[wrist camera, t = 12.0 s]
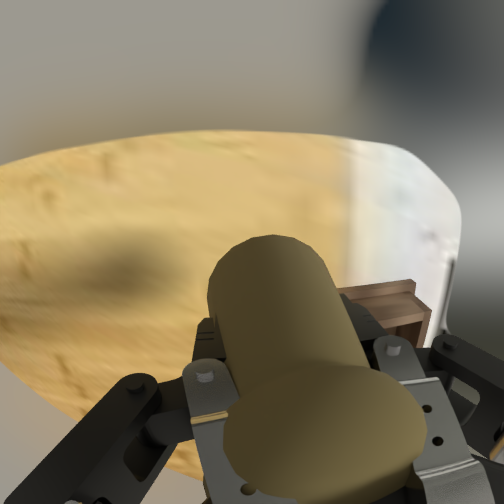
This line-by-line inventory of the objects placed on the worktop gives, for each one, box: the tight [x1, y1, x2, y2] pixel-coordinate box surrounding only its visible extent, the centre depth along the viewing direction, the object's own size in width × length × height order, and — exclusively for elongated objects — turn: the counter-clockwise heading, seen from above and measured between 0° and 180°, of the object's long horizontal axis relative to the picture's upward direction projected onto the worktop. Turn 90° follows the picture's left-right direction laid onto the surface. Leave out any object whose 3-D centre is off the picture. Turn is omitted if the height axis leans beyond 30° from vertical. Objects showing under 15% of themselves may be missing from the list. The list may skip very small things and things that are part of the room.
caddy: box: [337, 279, 432, 348], centre depth 26 cm, size 12×24×5 cm, turn 4°
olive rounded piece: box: [203, 235, 427, 504], centre depth 9 cm, size 6×6×11 cm
